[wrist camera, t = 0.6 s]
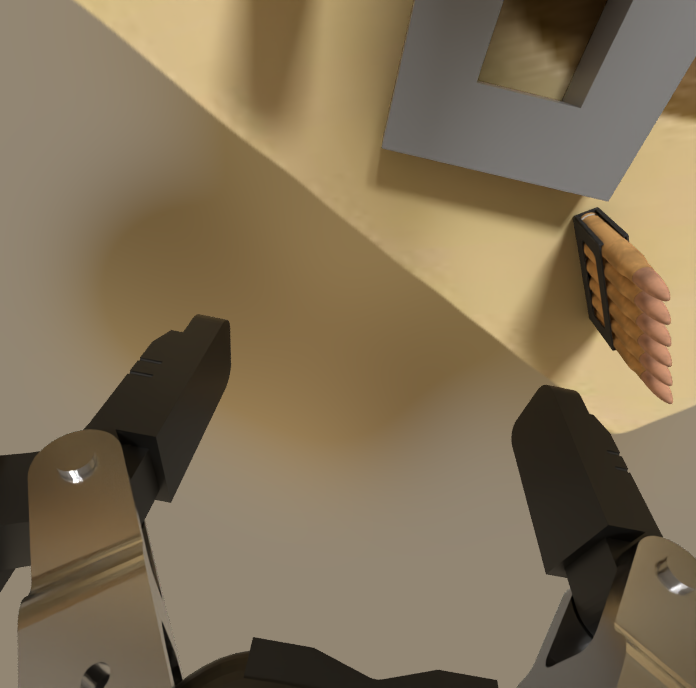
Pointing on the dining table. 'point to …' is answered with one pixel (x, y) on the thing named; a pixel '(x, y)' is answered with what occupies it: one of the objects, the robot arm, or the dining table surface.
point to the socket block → (533, 110)
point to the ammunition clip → (625, 299)
